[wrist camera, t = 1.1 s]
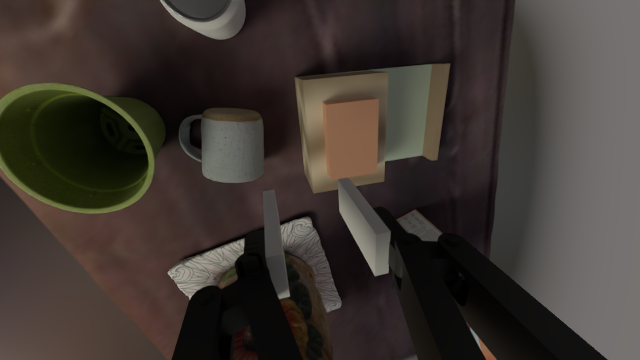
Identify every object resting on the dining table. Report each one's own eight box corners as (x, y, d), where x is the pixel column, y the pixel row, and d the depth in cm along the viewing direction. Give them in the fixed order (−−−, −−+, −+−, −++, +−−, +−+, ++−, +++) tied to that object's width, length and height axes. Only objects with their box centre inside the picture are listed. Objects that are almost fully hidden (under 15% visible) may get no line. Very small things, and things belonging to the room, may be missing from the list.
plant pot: (129, 54, 29) (62, 50, 19) (205, 137, 34) (183, 168, 24) (49, 113, 30) (-56, 140, 20) (136, 186, 35) (88, 235, 25)
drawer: (365, 70, 35) (374, 70, 33) (436, 63, 37) (450, 63, 35) (365, 163, 41) (372, 170, 39) (426, 153, 43) (437, 159, 41)
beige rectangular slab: (294, 76, 34) (302, 80, 28) (365, 70, 35) (388, 72, 29) (304, 172, 40) (313, 193, 34) (365, 163, 41) (384, 181, 35)
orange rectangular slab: (322, 102, 29) (326, 104, 27) (371, 96, 30) (378, 98, 28) (327, 173, 33) (331, 180, 31) (370, 166, 34) (377, 172, 32)
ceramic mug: (263, 106, 34) (263, 117, 28) (264, 163, 38) (264, 185, 31) (177, 102, 32) (154, 113, 25) (186, 163, 35) (167, 187, 29)
